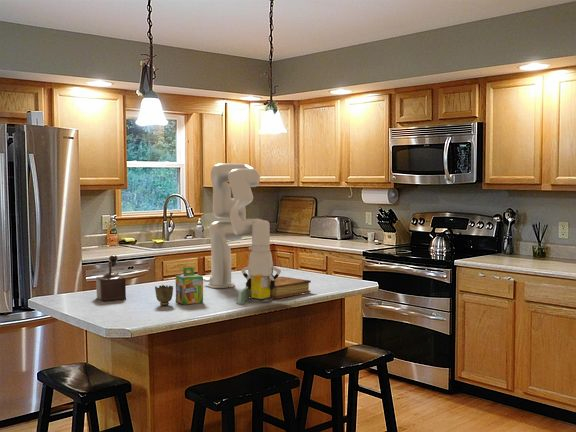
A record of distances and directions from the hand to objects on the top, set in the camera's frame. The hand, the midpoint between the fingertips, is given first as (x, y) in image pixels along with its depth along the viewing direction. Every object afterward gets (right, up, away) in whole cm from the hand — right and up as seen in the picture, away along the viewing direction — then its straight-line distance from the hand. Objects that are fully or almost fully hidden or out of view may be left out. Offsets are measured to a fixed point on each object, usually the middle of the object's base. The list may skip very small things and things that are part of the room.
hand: (260, 289), depth 274 cm
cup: (-40, -6, -10) cm, 41 cm away
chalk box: (-30, -6, -3) cm, 31 cm away
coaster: (0, -5, 0) cm, 5 cm away
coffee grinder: (-67, -5, +8) cm, 67 cm away
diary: (+7, -4, +16) cm, 18 cm away
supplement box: (0, -5, 0) cm, 5 cm away
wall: (-7, -5, +1) cm, 9 cm away
